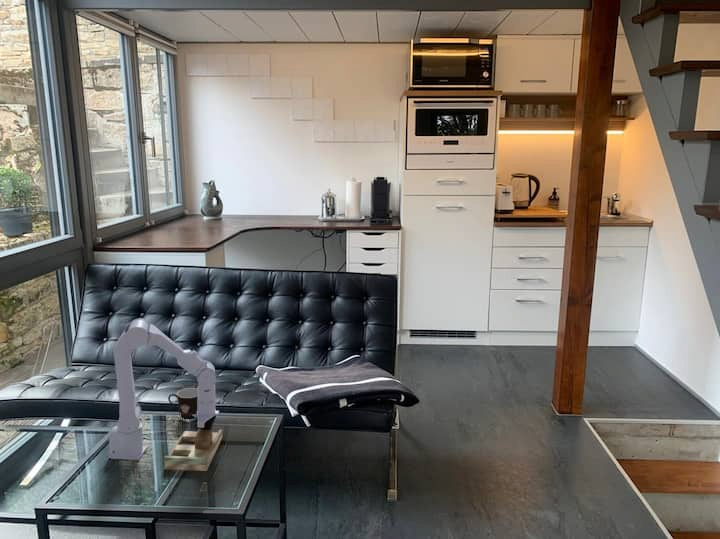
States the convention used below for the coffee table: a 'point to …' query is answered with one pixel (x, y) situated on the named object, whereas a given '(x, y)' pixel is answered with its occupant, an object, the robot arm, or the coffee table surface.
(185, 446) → the trap deck
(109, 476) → the coffee table surface
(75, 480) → the coffee table surface
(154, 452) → the coffee table surface
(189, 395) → the coffee mug
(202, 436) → the walnut block
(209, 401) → the robot arm
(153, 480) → the coffee table surface
